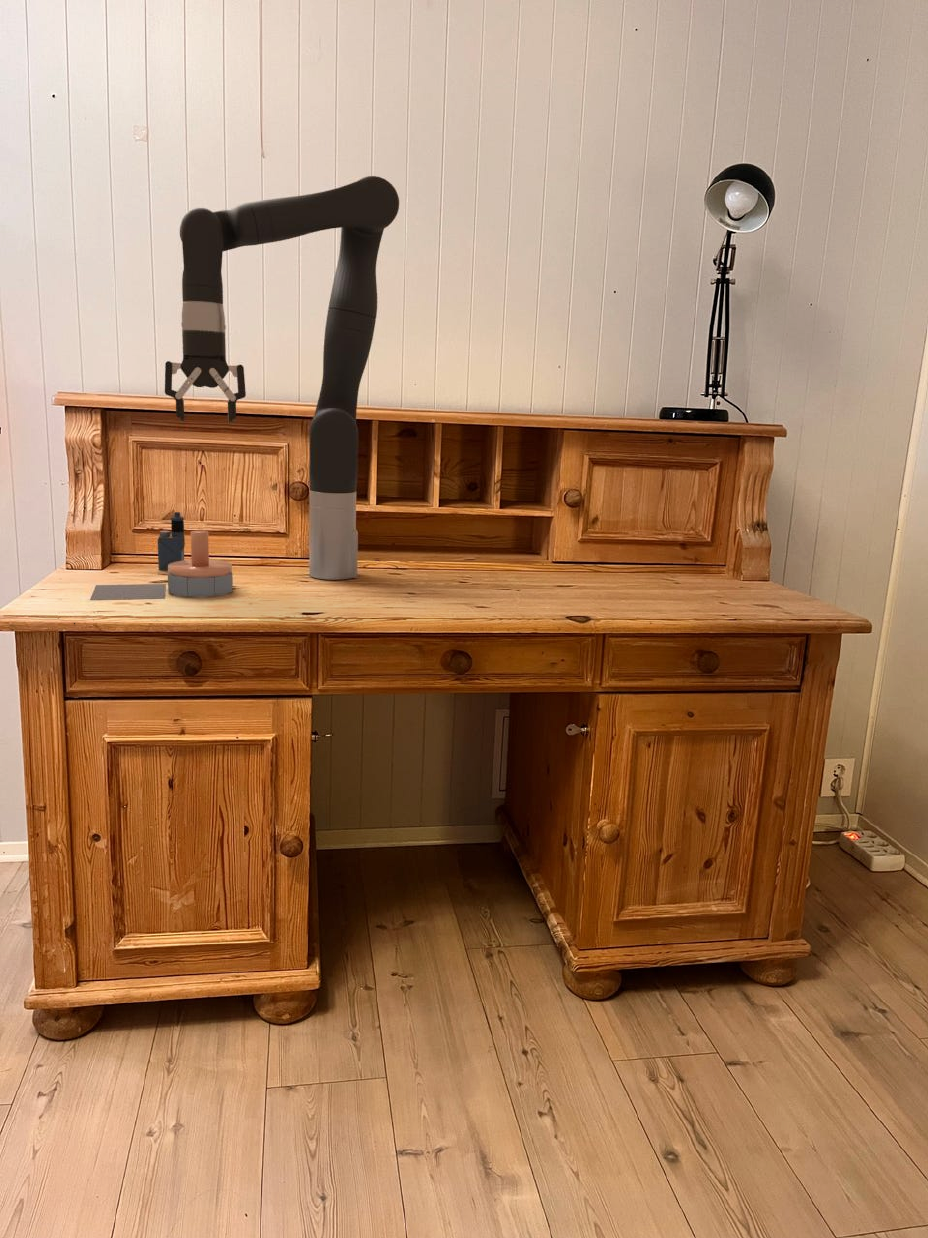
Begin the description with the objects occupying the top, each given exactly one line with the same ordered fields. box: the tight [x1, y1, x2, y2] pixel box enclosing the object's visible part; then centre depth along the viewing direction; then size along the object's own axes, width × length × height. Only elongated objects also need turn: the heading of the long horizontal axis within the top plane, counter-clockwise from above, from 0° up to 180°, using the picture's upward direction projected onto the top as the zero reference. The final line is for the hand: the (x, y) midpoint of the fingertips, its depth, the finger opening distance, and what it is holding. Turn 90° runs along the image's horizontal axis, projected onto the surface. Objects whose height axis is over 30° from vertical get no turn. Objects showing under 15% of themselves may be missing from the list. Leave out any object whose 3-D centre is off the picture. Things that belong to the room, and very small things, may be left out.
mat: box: [89, 583, 167, 601], centre depth 158 cm, size 12×12×1 cm
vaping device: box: [157, 511, 186, 572], centre depth 177 cm, size 3×5×12 cm, turn 89°
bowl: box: [167, 572, 234, 598], centre depth 161 cm, size 11×11×4 cm
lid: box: [167, 530, 233, 578], centre depth 159 cm, size 11×11×7 cm
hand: (206, 421), depth 166 cm, fingers open, 8 cm apart
